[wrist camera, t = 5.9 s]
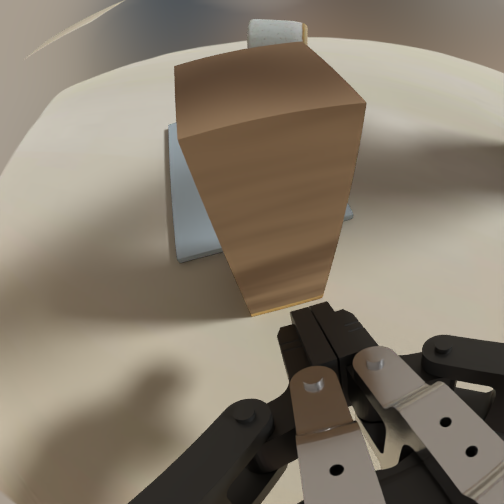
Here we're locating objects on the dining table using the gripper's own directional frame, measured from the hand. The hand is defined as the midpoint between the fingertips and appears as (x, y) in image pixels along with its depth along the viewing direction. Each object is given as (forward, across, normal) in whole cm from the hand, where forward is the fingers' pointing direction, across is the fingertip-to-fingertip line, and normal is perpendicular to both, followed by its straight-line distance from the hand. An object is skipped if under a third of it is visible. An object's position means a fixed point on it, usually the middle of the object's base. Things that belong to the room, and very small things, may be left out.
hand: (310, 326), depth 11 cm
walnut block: (+10, 0, +1) cm, 10 cm away
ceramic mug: (+34, -10, -22) cm, 41 cm away
